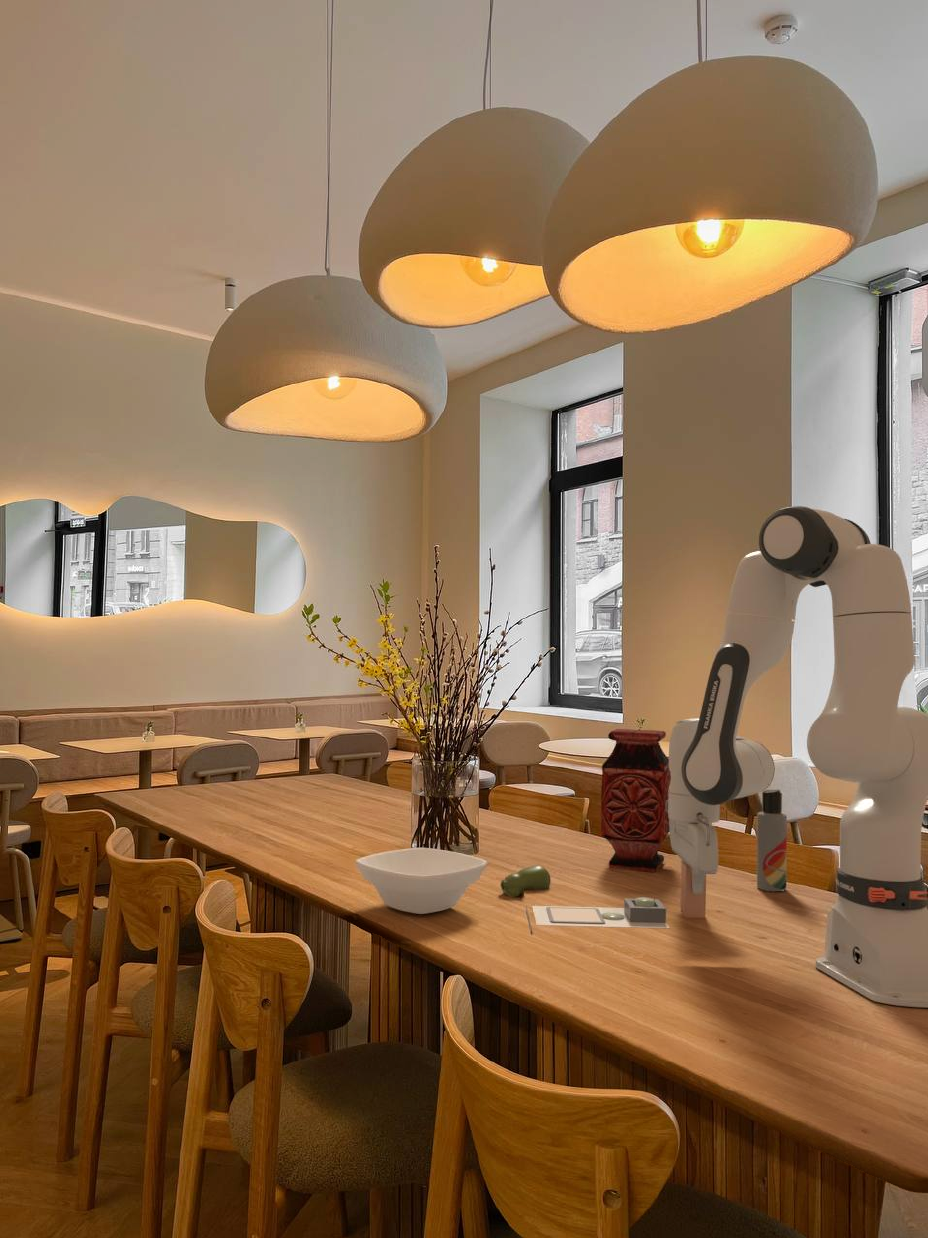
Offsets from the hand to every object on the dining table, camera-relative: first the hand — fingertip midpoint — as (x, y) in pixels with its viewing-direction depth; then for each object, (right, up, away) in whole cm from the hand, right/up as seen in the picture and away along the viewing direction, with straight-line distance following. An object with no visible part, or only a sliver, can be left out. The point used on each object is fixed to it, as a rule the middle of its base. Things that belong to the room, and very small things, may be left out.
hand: (693, 888), depth 160 cm
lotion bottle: (+22, -8, +25) cm, 34 cm away
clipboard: (-17, -5, -3) cm, 18 cm away
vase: (-2, -8, +44) cm, 44 cm away
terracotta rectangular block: (0, -6, 0) cm, 6 cm away
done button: (-9, -3, -3) cm, 10 cm away
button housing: (-9, -4, -3) cm, 10 cm away
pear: (-28, -6, +17) cm, 33 cm away
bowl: (-48, -5, +4) cm, 49 cm away
